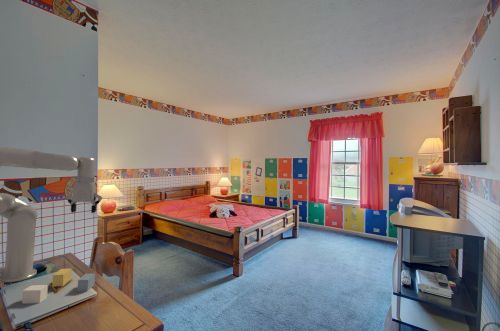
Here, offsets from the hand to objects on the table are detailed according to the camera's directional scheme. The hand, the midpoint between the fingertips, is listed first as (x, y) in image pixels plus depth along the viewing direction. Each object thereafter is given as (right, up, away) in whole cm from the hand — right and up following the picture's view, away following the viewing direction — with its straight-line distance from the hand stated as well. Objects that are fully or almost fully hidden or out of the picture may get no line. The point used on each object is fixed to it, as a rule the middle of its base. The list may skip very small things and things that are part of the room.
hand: (83, 212), depth 125 cm
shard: (+6, -29, -21) cm, 36 cm away
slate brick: (+17, -29, -22) cm, 40 cm away
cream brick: (+4, -28, -33) cm, 44 cm away
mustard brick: (+5, -27, -21) cm, 35 cm away
